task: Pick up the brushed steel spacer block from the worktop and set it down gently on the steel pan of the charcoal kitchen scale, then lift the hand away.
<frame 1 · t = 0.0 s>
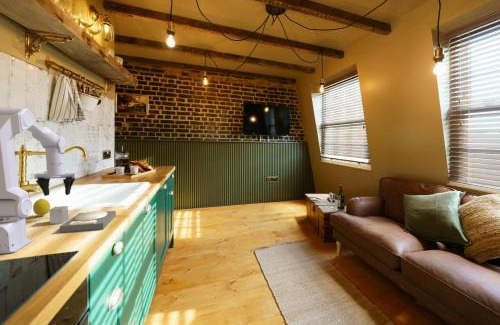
hand: (57, 194, 99), 10 cm above the table, tool pointing down, fingers open, 7 cm apart
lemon: (42, 216, 101), on the table
spacer: (59, 222, 95), on the table
scale: (90, 223, 93), on the table
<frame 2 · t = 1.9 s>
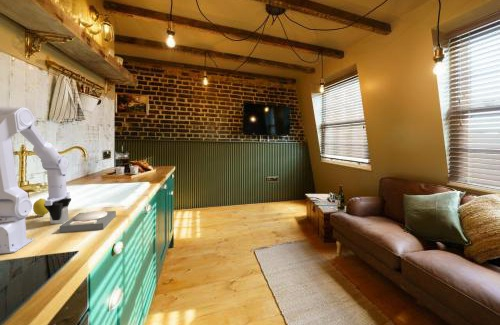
hand: (59, 218, 95), 2 cm above the table, tool pointing down, fingers closed on spacer, 4 cm apart
spacer: (59, 221, 95), on the table, touching gripper
everything else where it was.
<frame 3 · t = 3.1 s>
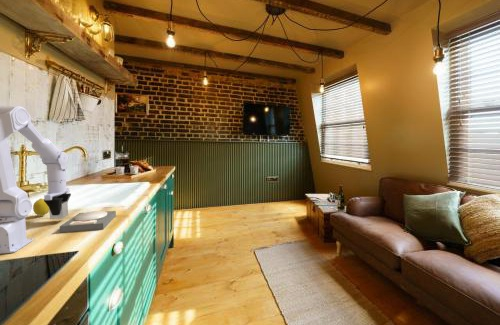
hand: (59, 213, 94), 4 cm above the table, tool pointing down, fingers closed on spacer, 4 cm apart
spacer: (59, 217, 94), point 2 cm above the table, touching gripper
everything else where it was.
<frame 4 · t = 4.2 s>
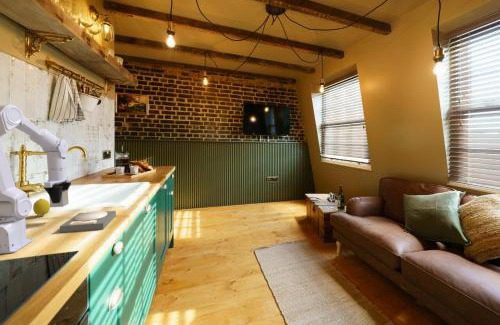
hand: (59, 201, 94), 9 cm above the table, tool pointing down, fingers closed on spacer, 4 cm apart
spacer: (59, 205, 94), point 7 cm above the table, touching gripper
everything else where it was.
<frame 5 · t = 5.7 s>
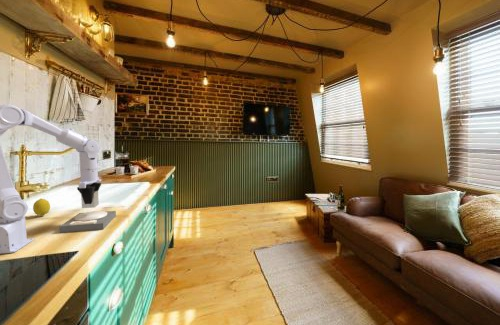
hand: (90, 202, 93), 9 cm above the table, tool pointing down, fingers closed on spacer, 4 cm apart
spacer: (90, 206, 94), point 7 cm above the table, touching gripper
everything else where it was.
when the fingers open (6 cm above the table, at t = 6.7 s): spacer drops 1 cm, resting on scale.
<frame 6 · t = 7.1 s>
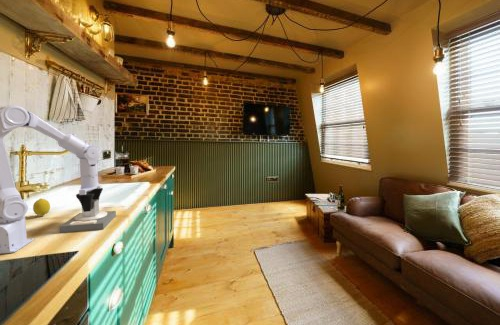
hand: (91, 208, 94), 6 cm above the table, tool pointing down, fingers open, 7 cm apart
spacer: (91, 215, 94), point 3 cm above the table, touching scale
everything else where it was.
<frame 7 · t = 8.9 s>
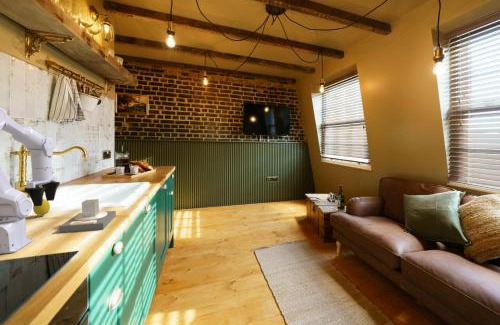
hand: (44, 203, 88), 10 cm above the table, tool pointing down, fingers open, 7 cm apart
nothing on the table moved.
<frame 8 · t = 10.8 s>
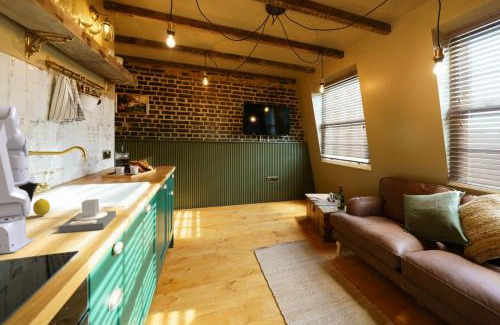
hand: (21, 204, 86), 9 cm above the table, tool pointing down, fingers open, 7 cm apart
nothing on the table moved.
at the end: spacer inside the target area on the scale (0.1 cm from its centre), point 3.2 cm above the scale's base; the gripper is holding nothing; spacer tilted 0° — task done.
